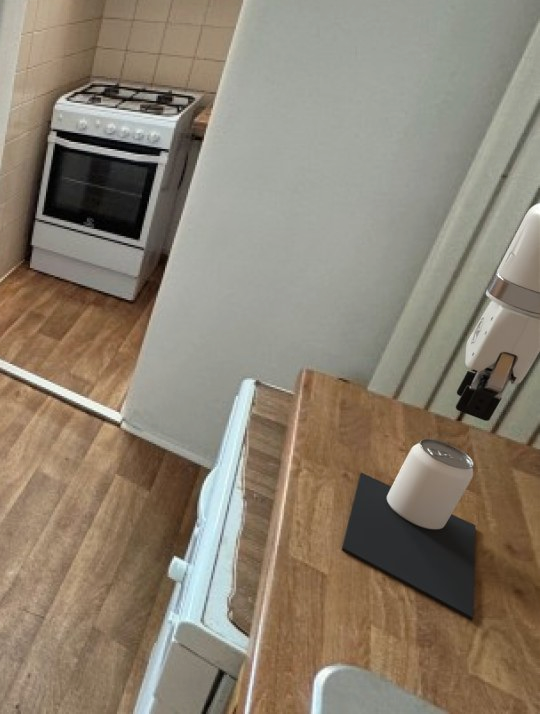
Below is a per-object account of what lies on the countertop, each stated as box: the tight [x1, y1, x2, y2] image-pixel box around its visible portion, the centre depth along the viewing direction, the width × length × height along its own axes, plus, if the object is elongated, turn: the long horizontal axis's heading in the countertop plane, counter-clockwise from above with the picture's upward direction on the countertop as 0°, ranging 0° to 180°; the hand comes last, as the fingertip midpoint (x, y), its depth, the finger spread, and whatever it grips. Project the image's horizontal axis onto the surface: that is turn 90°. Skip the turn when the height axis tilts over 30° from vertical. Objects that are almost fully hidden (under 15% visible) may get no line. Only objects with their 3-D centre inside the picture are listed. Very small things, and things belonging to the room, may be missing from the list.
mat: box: [341, 472, 476, 621], centre depth 88 cm, size 13×20×1 cm, turn 132°
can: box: [387, 438, 475, 529], centre depth 90 cm, size 6×6×12 cm
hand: (472, 405), depth 84 cm, fingers open, 3 cm apart
